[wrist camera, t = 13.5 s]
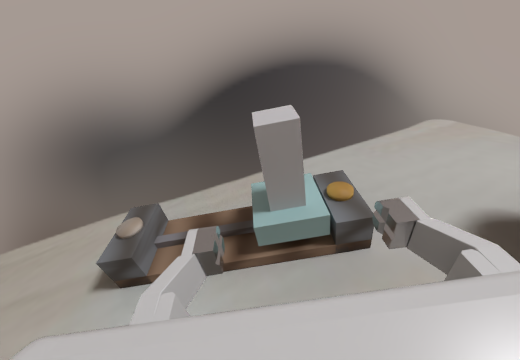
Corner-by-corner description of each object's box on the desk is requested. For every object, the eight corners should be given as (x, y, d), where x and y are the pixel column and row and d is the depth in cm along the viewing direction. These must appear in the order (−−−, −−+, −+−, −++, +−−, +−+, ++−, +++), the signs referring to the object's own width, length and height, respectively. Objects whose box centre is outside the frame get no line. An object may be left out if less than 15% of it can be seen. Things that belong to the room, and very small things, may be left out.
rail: (120, 288, 27) (92, 260, 23) (147, 231, 34) (129, 205, 31) (370, 247, 25) (376, 212, 22) (341, 198, 33) (342, 166, 29)
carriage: (258, 246, 25) (229, 140, 17) (255, 200, 31) (233, 110, 24) (330, 234, 24) (331, 121, 17) (311, 190, 31) (306, 95, 23)
